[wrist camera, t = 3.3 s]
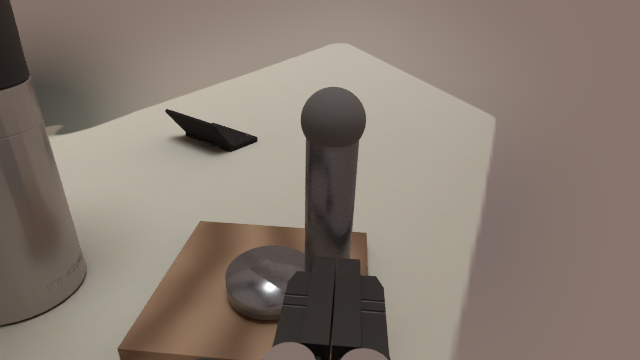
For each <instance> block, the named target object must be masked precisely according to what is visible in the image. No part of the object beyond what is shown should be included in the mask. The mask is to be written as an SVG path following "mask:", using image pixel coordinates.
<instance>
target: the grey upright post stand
mask: <svg viewBox="0 0 640 360" xmlns="http://www.w3.org/2000/svg"><path fill="white" fill-rule="evenodd" d="M365 125H366V115H365V110H364V108H363V105H362V103H361V102H360V100H359V99H358V98H357V97H356V96H355V95H354V94H353V93H351V92H350V91H348V90H346V89H343V88H339V87H328V88H324V89H321V90H319V91H317V92H316V93H314V94H313V95H312V96H311V97H310V98H309V99H308V100H307V102H306V103H305V105H304V107H303V110H302V114H301V126H302V130H303V133H304V135H305V137H306V186H305V254H304V253H302V252H301V251H298V250H296V249H293V248H290V247H286V246H278V245H270V246H261V247H257V248H253V249H250V250H248V251H246V252H244V253H242V254H240V255H239V256H237V257H236V258H235V259H234V260H233V261H232V262H231V263H230V264H229V266H228V268H227V270H226V274H225V281H226V291H227V298H228V300H229V302H230V304H231V305H232V307H233V308H234V309H235V310H237V311H238V312H240V313H241V314H243V315H245V316H248V317H251V318H254V319H260V320H275V319H279V317H280V313H281V309H282V306H283V300H284V296H285V292H286V288H287V283H288V281H289V279H290V278H291V277H292V276H293V275H294V274H295V273H296V272H297V271H305V272H312V267H313V260H314V256H318V257H332V258H336V278H335V294H336V281H337V268H338V258H348V259H350V253H351V239H352V226H353V213H354V199H355V186H356V173H357V160H358V146H359V139H360V138H361V136H362V134H363V132H364V129H365ZM334 307H335V299H334ZM333 321H334V315H333Z"/></svg>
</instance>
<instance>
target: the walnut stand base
mask: <svg viewBox="0 0 640 360" xmlns="http://www.w3.org/2000/svg"><path fill="white" fill-rule="evenodd" d="M270 245H278V246H286V247H290V248H293V249H296V250H298V251H301V252H302V253H304V254H305V229H304V228H290V227H276V226H262V225H248V224H233V223H219V222H205V221H200V222H199V224H198V225H197V227H196V228H195V230H194V231H193V233H192V235H191V236H190V238H189V239H188V241H187V242H186V244H185V245H184V247H183V248H182V250H181V252H180V253H179V255H178V256H177V258H176V259H175V261H174V262H173V264H172V265H171V267H170V269H169V270H168V272H167V273H166V275H165V276H164V278H163V279H162V281H161V282H160V284H159V286H158V287H157V289H156V290H155V292H154V293H153V295H152V296H151V298H150V299H149V301H148V302H147V304H146V306H145V307H144V309H143V310H142V312H141V313H140V315H139V316H138V318H137V319H136V321H135V323H134V324H133V326H132V327H131V329H130V330H129V332H128V333H127V335H126V336H125V338H124V340H123V341H122V343H121V344H120V346H119V347H118V352H119V355H120V359H121V360H196V359H200V358H212V359H216V360H261V359H263V357H264V355H265V354H266V352H267V351H268V350H269V349H271V348H272V345H273V342H274V338H275V334H276V330H277V325H278V321H279V319H275V320H260V319H254V318H251V317H248V316H245V315H243V314H241V313H240V312H238V311H237V310H235V309H234V308H233V307H232V305H231V304H230V302H229V300H228V298H227V291H226V281H225V274H226V270H227V268H228V266H229V264H230V263H231V262H232V261H233V260H234V259H235V258H236V257H237V256H239V255H240V254H242V253H244V252H246V251H248V250H250V249H253V248H257V247H261V246H270ZM350 259H360V275H363V276H368V270H367V234H366V233H360V232H352V239H351V253H350ZM332 334H333V328H332ZM331 349H332V341H331ZM330 360H331V354H330Z"/></svg>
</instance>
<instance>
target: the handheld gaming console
mask: <svg viewBox="0 0 640 360" xmlns="http://www.w3.org/2000/svg"><path fill="white" fill-rule="evenodd" d="M165 112H166V113H167V114H168V115H169V116H170V117H171V118H172V119H173V120H174V121H175V122H176V123H177V124H178V125H179V126H180V127H181V128H182V129H183V130H184V131H186V136H188V137H191V138H194V139H197V140H199V141H202V142H205V143H207V144H210V145H213V146H216V147H217V146H218V148H221V149H224V150H226V151H229V152H232V151H235V150H237V149H240V148H242V147H245V146H247V145H250V144H252V143H255V142H257V137H255V136H252V135H249V134H246V133H243V132H240V131H237V130H234V129H231V128H228V127H225V126H222V125H218V124H215V123H208V122H205V121H202V120H199V119H196V118H193V117H190V116H187V115H184V114H181V113H178V112H175V111H172V110H168V109H166V111H165Z"/></svg>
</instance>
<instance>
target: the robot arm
mask: <svg viewBox="0 0 640 360" xmlns="http://www.w3.org/2000/svg"><path fill="white" fill-rule="evenodd" d="M85 274H86V265H85V262H84V258H83V255H82V252H81V248H80V245H79V241H78V238H77V234H76V230H75V227H74V223H73V220H72V216H71V213H70V210H69V206H68V203H67V199H66V196H65V193H64V189H63V186H62V182H61V179H60V175H59V172H58V169H57V165H56V162H55V158H54V155H53V152H52V148H51V145H50V141H49V138H48V135H47V131H46V128H45V124H44V121H43V117H42V115H41V111H40V108H39V104H38V101H37V98H36V94H35V91H34V87H33V84H32V80H31V77H30V74H29V70H28V67H27V64H26V61H25V57H24V54H23V50H22V46H21V42H20V37H19V33H18V29H17V26H16V22H15V18H14V14H13V11H12V7H11V4H10V0H0V325H4V324H9V323H14V322H18V321H21V320H24V319H27V318H31V317H33V316H35V315H38V314H40V313H42V312H45V311H46V310H48V309H50V308H52V307H54V306H56V305H57V304H59V303H60V302H62V301H63V300H64V299H66V298H67V297H69V296H70V295H71V294H72V293H73V292H74V291H75V290H76V289H77V288H78V287H79V285H80V284H81V283H82V281H83V279H84V277H85ZM335 278H336V258H332V257H318V256H314V260H313V267H312V272H305V271H297V272H296V273H295V274H294V275H293V276H292V277H291V278H290V279H289V281H288V283H287V288H286V292H285V296H284V300H283V306H282V309H281V313H280V317H279V321H278V325H277V330H276V334H275V338H274V342H273V345H272V348H271V349H269V350H268V351H267V352H266V354H265V355H264V357H263V359H261V360H330V354H331V360H391V359H390V356H389V348H388V336H387V324H386V314H385V299H384V288H383V286H382V285H381V283H380V282H379V280H378V279H377V277H376V276H363V275H360V259H348V258H338V268H337V281H336V294H335ZM334 299H335V307H334ZM333 315H334V321H333ZM332 328H333V334H332ZM331 341H332V349H331ZM196 360H216V359H212V358H200V359H196Z"/></svg>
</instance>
